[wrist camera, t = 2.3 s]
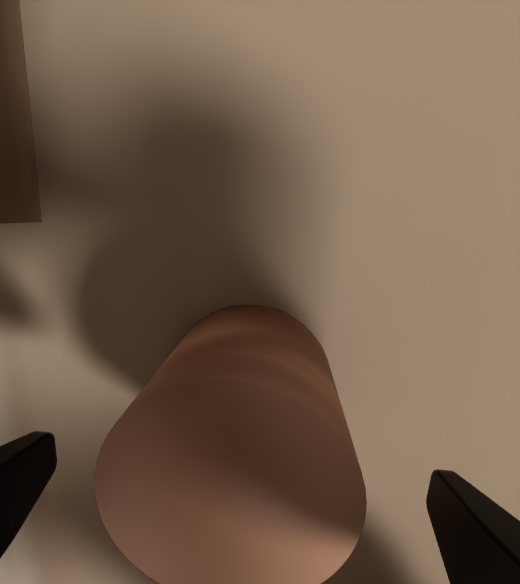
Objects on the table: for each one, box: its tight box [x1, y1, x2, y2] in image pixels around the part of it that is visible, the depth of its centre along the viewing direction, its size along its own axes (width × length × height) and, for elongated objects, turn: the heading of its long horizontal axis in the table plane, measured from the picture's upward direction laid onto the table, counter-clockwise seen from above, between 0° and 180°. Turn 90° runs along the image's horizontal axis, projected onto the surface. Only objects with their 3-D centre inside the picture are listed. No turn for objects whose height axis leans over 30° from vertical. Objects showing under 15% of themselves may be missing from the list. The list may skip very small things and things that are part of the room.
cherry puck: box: [95, 305, 366, 584], centre depth 9 cm, size 6×6×5 cm
